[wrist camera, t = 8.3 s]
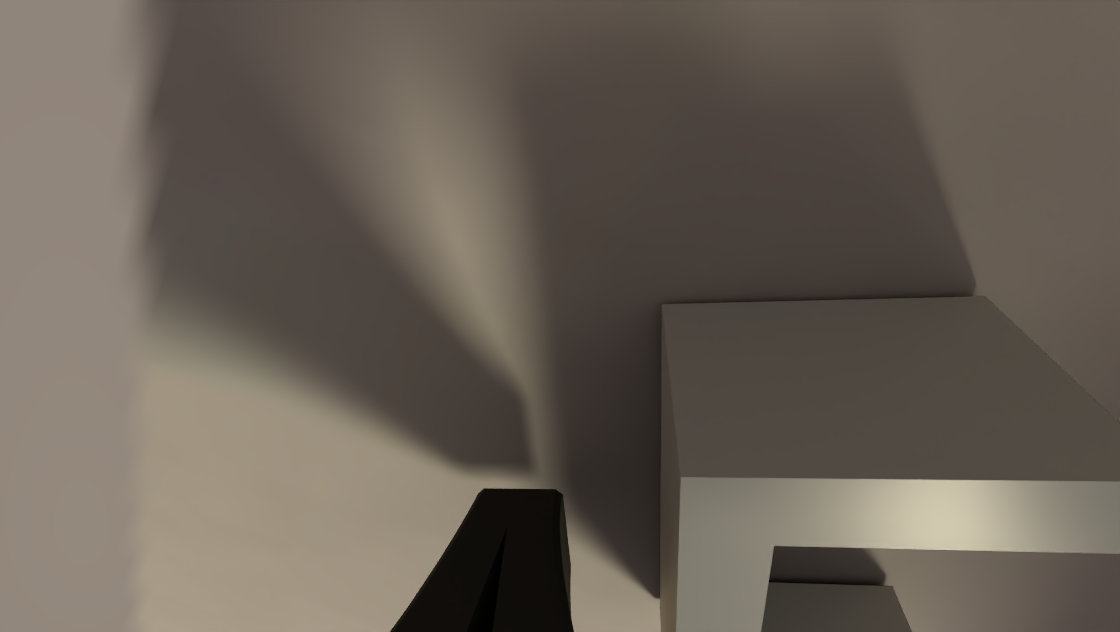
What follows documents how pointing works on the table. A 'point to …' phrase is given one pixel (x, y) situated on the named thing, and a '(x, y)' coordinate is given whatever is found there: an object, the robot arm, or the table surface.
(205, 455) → the table surface
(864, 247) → the table surface
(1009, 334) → the cap
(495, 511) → the robot arm
